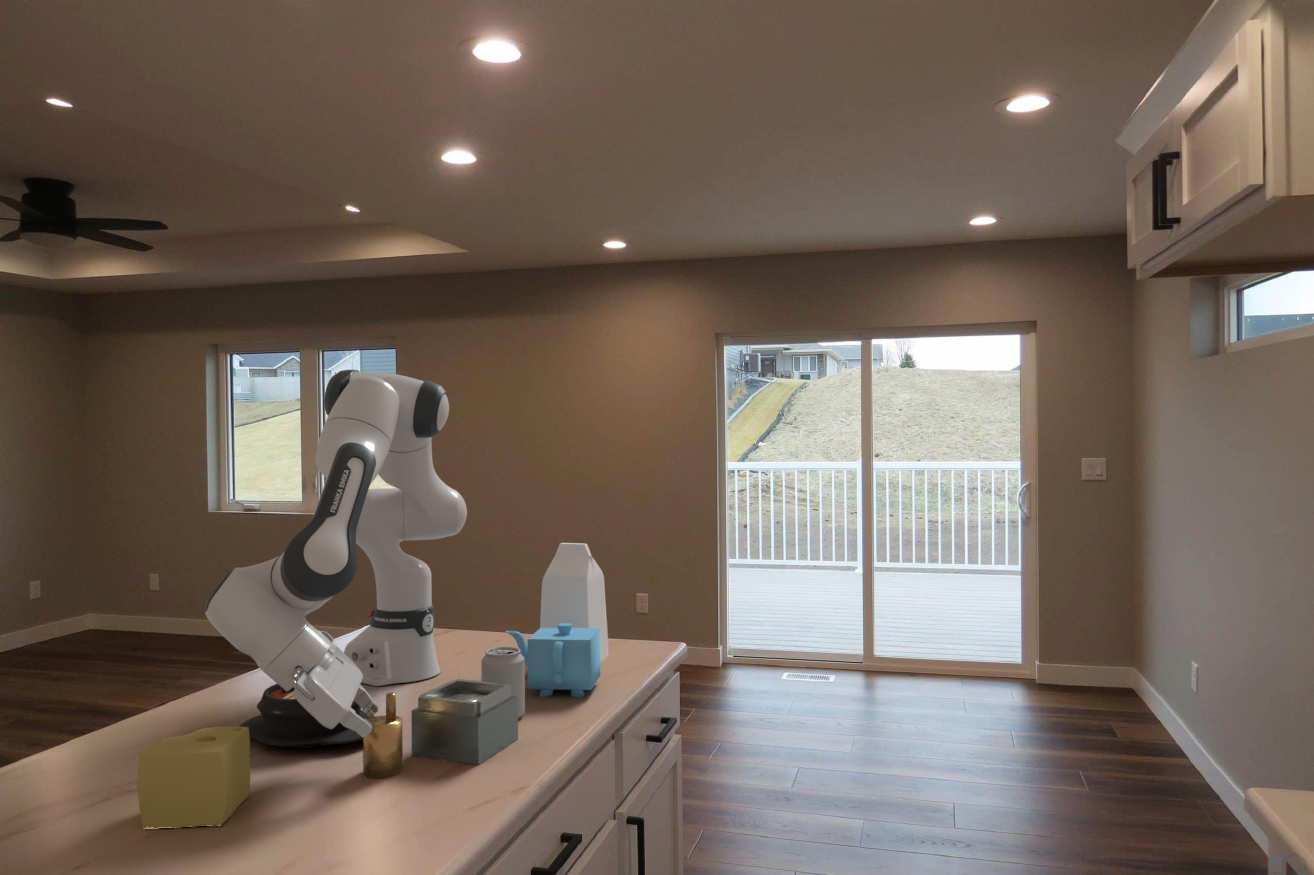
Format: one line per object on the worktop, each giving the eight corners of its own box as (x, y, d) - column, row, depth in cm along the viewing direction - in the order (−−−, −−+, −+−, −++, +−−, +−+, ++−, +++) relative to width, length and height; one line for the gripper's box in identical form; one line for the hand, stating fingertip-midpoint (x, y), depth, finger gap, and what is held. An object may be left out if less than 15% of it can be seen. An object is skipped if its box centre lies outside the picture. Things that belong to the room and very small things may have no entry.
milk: (538, 666, 190) (537, 546, 190) (559, 653, 201) (558, 539, 201) (590, 670, 186) (589, 547, 186) (609, 657, 197) (608, 541, 197)
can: (516, 725, 151) (515, 655, 151) (475, 723, 152) (474, 653, 152) (530, 712, 158) (530, 645, 158) (491, 709, 160) (491, 643, 160)
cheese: (174, 799, 121) (173, 726, 121) (255, 796, 122) (254, 724, 122) (136, 833, 111) (135, 754, 111) (225, 829, 112) (224, 750, 112)
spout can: (361, 780, 127) (360, 701, 127) (365, 766, 132) (364, 690, 132) (401, 777, 128) (400, 698, 128) (403, 763, 134) (403, 687, 134)
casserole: (208, 748, 141) (208, 696, 141) (290, 713, 159) (290, 667, 159) (339, 765, 133) (339, 709, 133) (410, 726, 151) (409, 677, 151)
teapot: (602, 679, 179) (601, 616, 179) (589, 702, 163) (588, 633, 163) (515, 678, 181) (515, 615, 181) (494, 700, 165) (493, 632, 165)
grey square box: (411, 755, 137) (411, 697, 137) (455, 731, 148) (454, 677, 148) (478, 764, 133) (478, 705, 133) (518, 739, 144) (517, 684, 144)
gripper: (305, 661, 118) (381, 728, 120) (328, 629, 138) (393, 687, 140) (270, 697, 117) (347, 763, 119) (298, 659, 137) (364, 717, 139)
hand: (372, 722), depth 130 cm, fingers open, 8 cm apart
